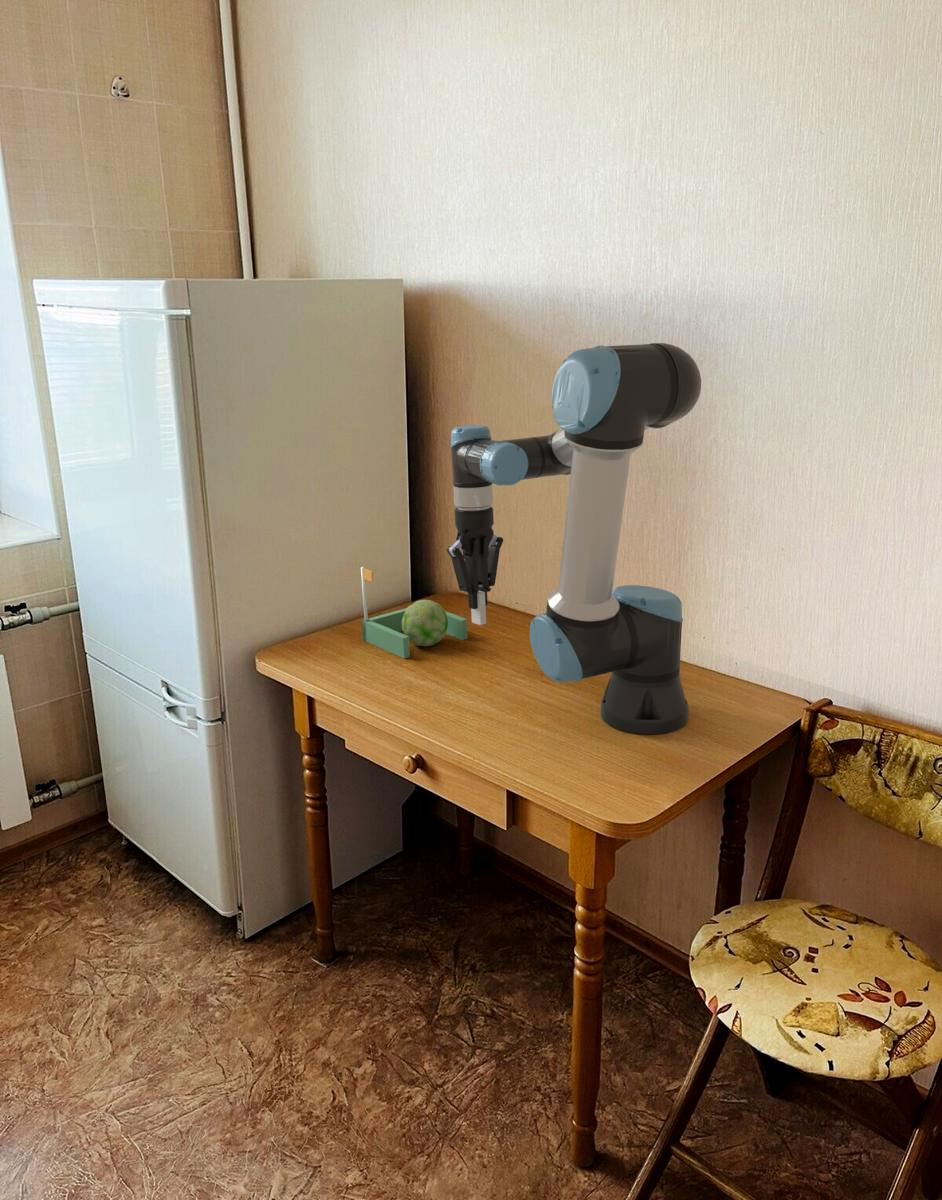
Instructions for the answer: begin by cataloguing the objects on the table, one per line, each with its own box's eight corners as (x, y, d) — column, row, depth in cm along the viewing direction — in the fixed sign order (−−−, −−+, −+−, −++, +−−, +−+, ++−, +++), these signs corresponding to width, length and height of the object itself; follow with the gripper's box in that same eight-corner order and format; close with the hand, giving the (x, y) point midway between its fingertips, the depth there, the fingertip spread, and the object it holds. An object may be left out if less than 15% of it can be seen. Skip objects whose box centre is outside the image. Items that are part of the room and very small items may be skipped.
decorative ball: (453, 650, 201) (451, 605, 198) (407, 655, 199) (404, 610, 196) (443, 634, 210) (441, 591, 207) (399, 639, 208) (396, 596, 205)
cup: (467, 638, 208) (465, 565, 202) (404, 658, 197) (400, 582, 192) (424, 621, 219) (421, 552, 214) (362, 639, 209) (357, 567, 204)
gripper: (486, 499, 191) (490, 612, 198) (435, 509, 183) (441, 626, 190) (511, 503, 185) (515, 619, 192) (460, 514, 177) (466, 634, 184)
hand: (478, 622), depth 191 cm, fingers closed
